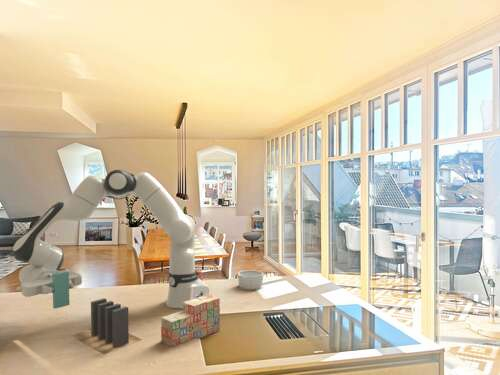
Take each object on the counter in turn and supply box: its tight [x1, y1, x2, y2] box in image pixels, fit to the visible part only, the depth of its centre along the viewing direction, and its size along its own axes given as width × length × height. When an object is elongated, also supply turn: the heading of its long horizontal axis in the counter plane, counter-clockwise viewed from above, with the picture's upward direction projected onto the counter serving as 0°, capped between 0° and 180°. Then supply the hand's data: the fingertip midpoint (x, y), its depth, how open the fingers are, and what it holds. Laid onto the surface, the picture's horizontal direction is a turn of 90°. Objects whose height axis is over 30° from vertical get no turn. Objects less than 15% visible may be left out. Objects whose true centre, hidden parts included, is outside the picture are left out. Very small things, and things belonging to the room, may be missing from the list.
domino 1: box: [52, 271, 70, 310], centre depth 138 cm, size 5×2×12 cm, turn 141°
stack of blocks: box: [160, 295, 221, 347], centre depth 137 cm, size 21×6×12 cm, turn 137°
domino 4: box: [105, 303, 122, 344], centre depth 131 cm, size 5×2×12 cm, turn 140°
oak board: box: [70, 328, 143, 355], centre depth 134 cm, size 14×22×1 cm, turn 50°
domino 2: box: [90, 297, 108, 337], centre depth 137 cm, size 5×2×12 cm, turn 140°
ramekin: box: [237, 269, 264, 291], centre depth 198 cm, size 13×13×7 cm
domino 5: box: [112, 306, 130, 348], centre depth 128 cm, size 5×2×12 cm, turn 140°
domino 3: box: [98, 300, 115, 340], centre depth 134 cm, size 5×2×12 cm, turn 140°
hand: (62, 288), depth 137 cm, fingers closed on domino 1, 5 cm apart
